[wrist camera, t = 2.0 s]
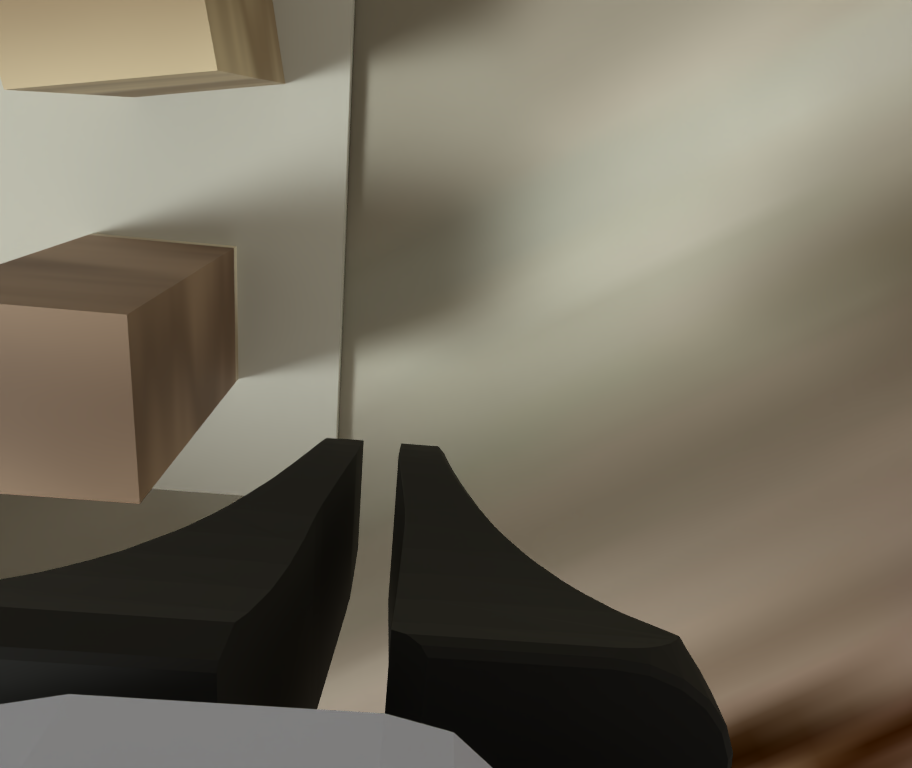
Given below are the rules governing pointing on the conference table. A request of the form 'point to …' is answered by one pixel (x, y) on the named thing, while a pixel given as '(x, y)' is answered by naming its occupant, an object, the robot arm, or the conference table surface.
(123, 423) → the walnut block
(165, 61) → the oak block
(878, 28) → the conference table surface
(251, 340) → the mat
